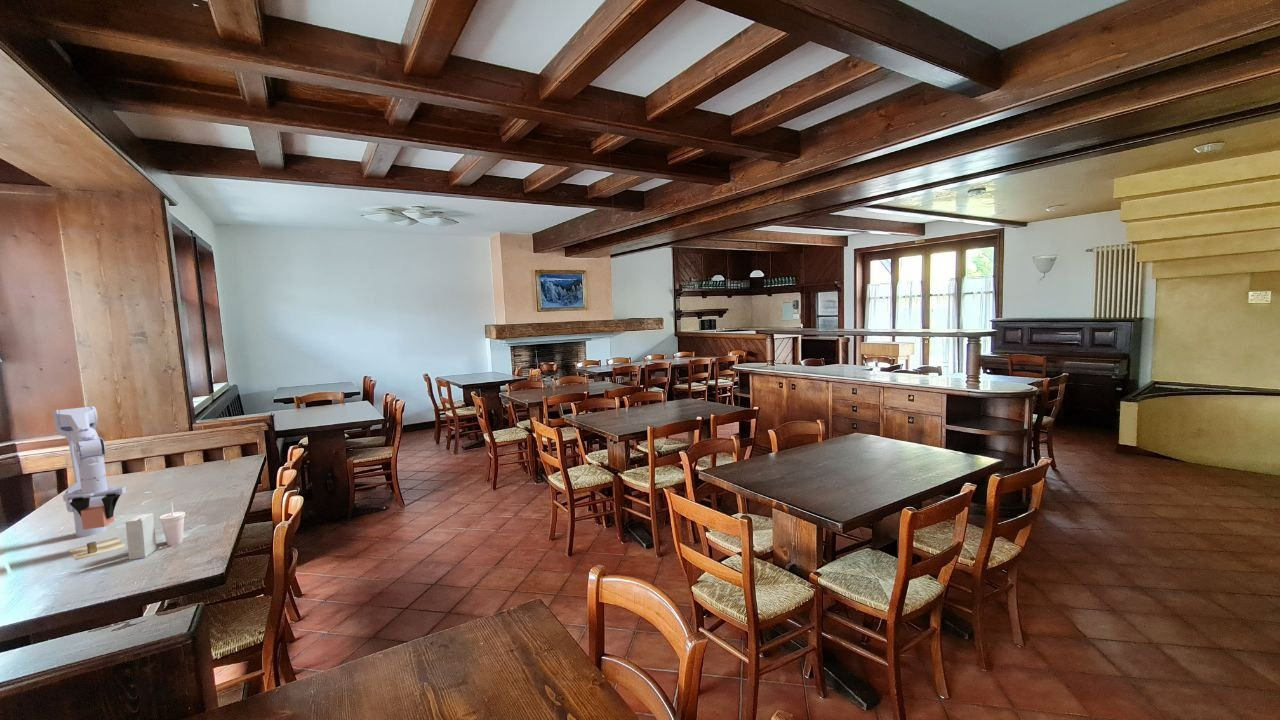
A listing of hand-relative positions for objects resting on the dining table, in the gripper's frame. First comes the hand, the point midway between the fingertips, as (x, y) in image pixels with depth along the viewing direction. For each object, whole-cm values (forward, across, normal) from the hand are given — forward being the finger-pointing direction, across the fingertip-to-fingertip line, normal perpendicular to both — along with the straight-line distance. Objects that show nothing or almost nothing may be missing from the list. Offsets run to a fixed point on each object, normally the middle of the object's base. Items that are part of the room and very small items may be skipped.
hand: (98, 518), depth 166 cm
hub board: (+10, 0, -1) cm, 10 cm away
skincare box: (+10, +16, -12) cm, 22 cm away
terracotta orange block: (+2, 0, 0) cm, 2 cm away
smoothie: (+10, +21, -5) cm, 24 cm away
